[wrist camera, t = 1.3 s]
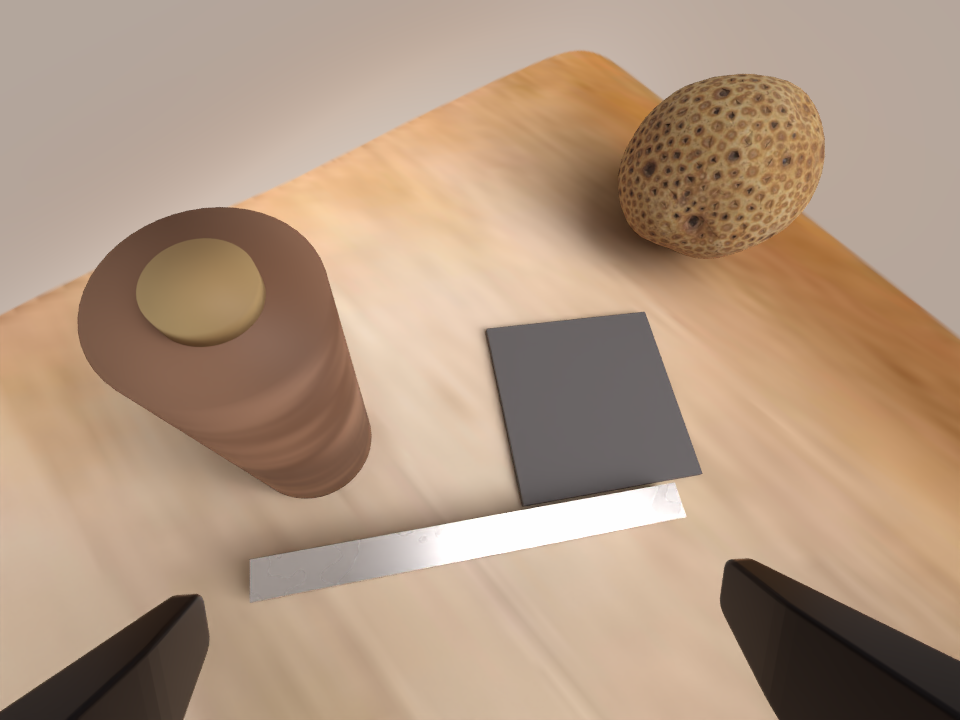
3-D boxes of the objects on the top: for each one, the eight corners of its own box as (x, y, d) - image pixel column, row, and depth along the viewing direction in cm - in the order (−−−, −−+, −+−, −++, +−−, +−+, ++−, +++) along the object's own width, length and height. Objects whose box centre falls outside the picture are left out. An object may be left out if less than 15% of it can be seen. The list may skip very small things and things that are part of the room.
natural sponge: (638, 320, 27) (750, 191, 18) (566, 200, 30) (632, 37, 21) (761, 276, 29) (916, 143, 20) (684, 169, 32) (789, 11, 23)
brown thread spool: (312, 523, 21) (179, 454, 9) (226, 447, 22) (0, 292, 10) (394, 432, 23) (374, 277, 11) (313, 365, 24) (213, 155, 12)
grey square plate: (522, 506, 22) (524, 505, 22) (486, 331, 25) (486, 328, 25) (699, 474, 24) (702, 473, 23) (642, 314, 27) (644, 311, 27)
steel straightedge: (261, 600, 19) (249, 602, 18) (261, 560, 20) (249, 559, 18) (670, 520, 23) (686, 516, 21) (659, 488, 23) (674, 482, 22)
